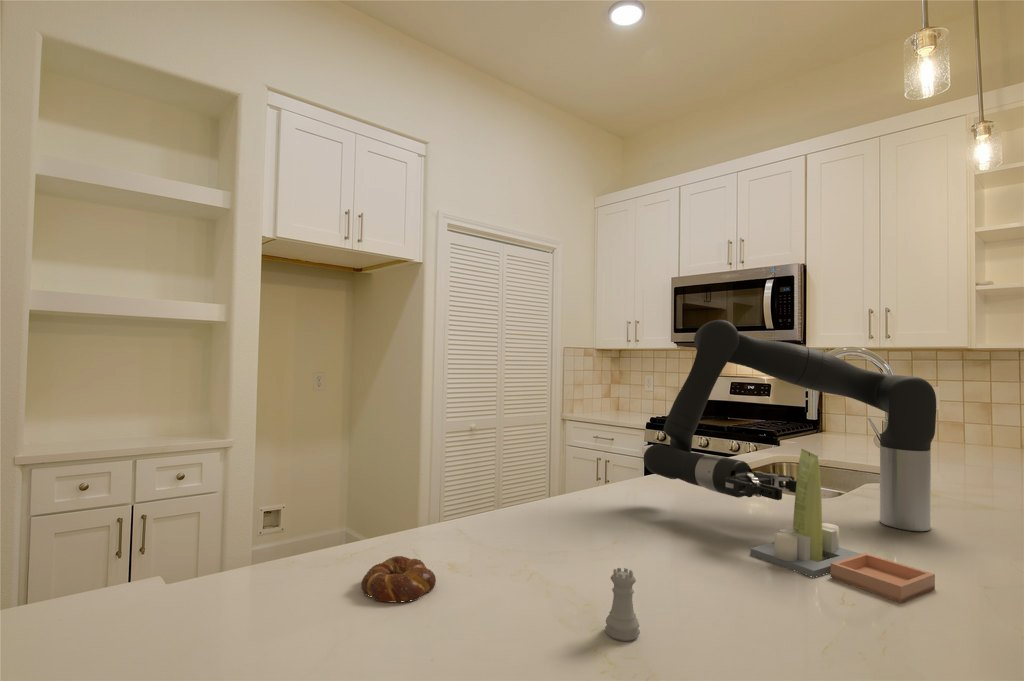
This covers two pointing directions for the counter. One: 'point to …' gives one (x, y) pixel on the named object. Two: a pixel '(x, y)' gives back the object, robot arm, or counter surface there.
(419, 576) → the brown pretzel bun
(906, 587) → the tray
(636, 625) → the rook chess piece
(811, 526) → the tube
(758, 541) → the counter surface
